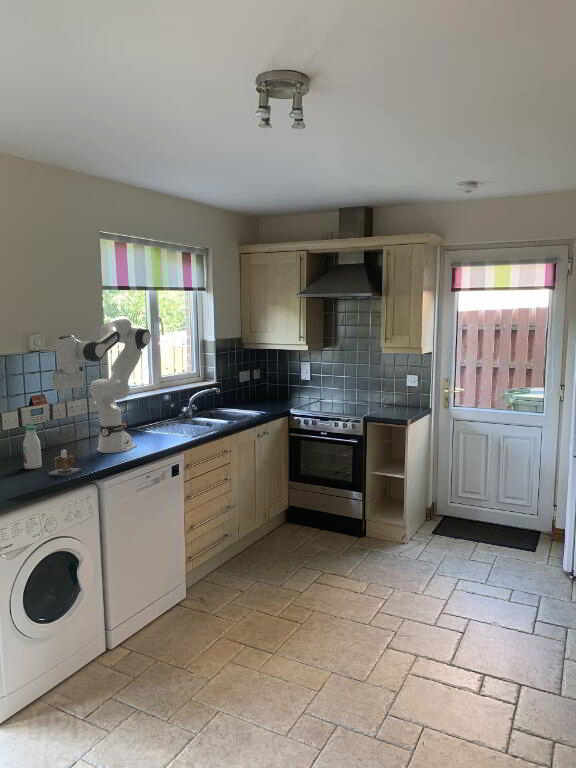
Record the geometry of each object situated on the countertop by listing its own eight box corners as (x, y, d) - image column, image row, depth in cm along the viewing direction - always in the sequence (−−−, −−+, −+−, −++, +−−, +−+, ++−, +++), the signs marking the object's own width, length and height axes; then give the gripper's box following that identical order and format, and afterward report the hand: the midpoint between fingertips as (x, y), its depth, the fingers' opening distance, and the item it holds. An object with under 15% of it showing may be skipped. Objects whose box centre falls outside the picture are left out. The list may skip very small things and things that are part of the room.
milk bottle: (44, 465, 280) (41, 424, 278) (38, 469, 272) (35, 427, 270) (28, 465, 279) (25, 425, 278) (21, 469, 272) (18, 428, 270)
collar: (63, 465, 267) (62, 455, 266) (74, 466, 265) (73, 455, 265) (54, 468, 261) (54, 457, 261) (66, 469, 259) (65, 458, 259)
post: (63, 469, 270) (61, 447, 269) (81, 470, 267) (79, 448, 266) (48, 474, 260) (47, 452, 259) (67, 475, 257) (65, 453, 256)
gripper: (58, 370, 264) (60, 400, 266) (86, 367, 284) (87, 395, 285) (47, 370, 266) (49, 399, 268) (75, 367, 286) (77, 395, 287)
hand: (69, 397), depth 277 cm, fingers open, 8 cm apart
